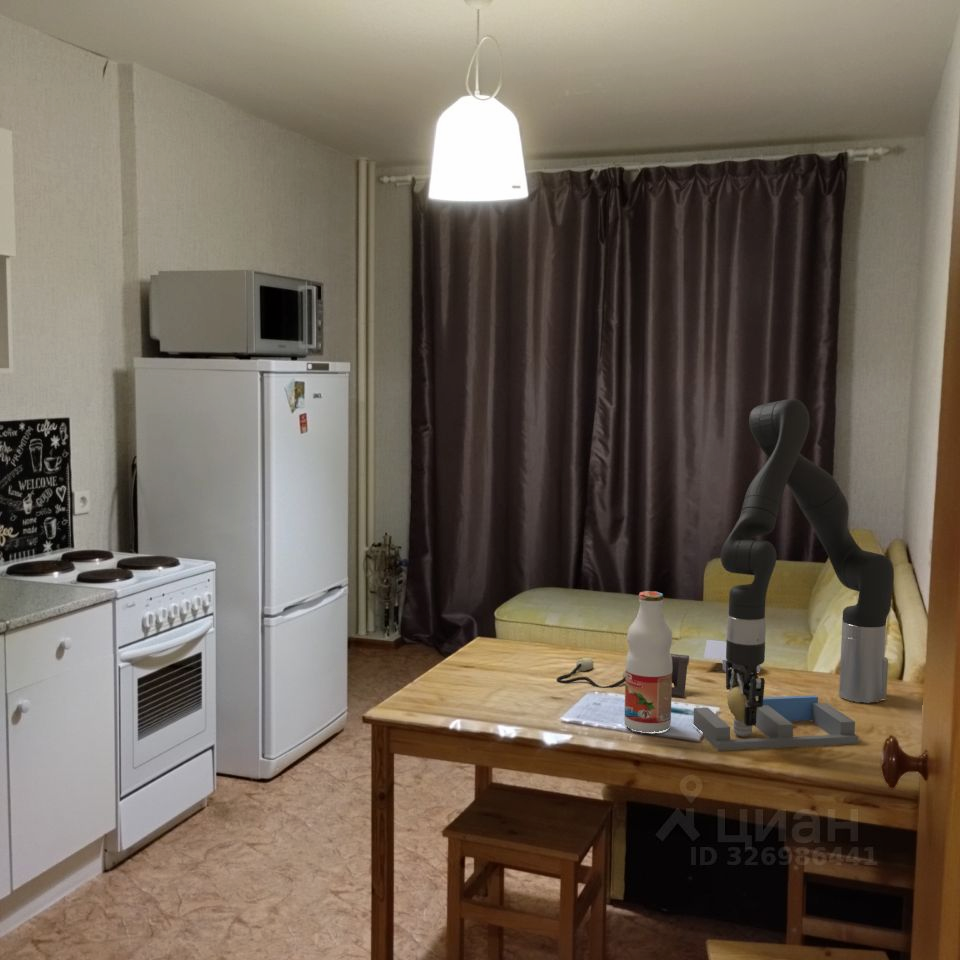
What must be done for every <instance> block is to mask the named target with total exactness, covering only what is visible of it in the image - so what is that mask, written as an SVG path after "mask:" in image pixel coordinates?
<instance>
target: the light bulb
mask: <svg viewBox="0 0 960 960" xmlns="http://www.w3.org/2000/svg"><path fill="white" fill-rule="evenodd" d="M746 691H750V690H746ZM758 697H759V696H758ZM748 699H749V696H748ZM727 707H728V708H729V710H730V713H731V712H732V713H733V714H732V713H731V714H732V715H733V716H734V718H733V725H732V726H733V728H732V730H733V731H732V732H733V733H734V735H737V736H738V737H749V736H751V734H753V726H747V725H745V724H744V715H745V703H744V697H743V696H742V695H741V692H740V687H739V686H736V687H734V688H733V689H732V690H731V691H730V693H728V695H727ZM758 709H759V707H757V711H758Z"/></svg>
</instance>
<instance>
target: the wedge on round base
mask: <svg viewBox="0 0 960 960" xmlns="http://www.w3.org/2000/svg"><path fill="white" fill-rule="evenodd" d="M702 658H703V659H704V658H705V659H711V660H712V659H713V660H722V669H721V670H722V671H723V670H724V671H723V672H725V671H726V661H727V659H726V641H722V640H715V639H714V640H712V639H711V640H710V639H707V640H706V644H705V649H704V654H703V657H702ZM759 670H760V671H759ZM757 672H760V673H761V664H760V665H758V666H757Z"/></svg>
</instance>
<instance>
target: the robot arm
mask: <svg viewBox="0 0 960 960" xmlns="http://www.w3.org/2000/svg"><path fill="white" fill-rule="evenodd" d="M810 421H811V419H810V413H809V411H808V408H807V406H806V405H805V404H804V402H802V401H801V400H800V399H796V398H790V399H789V398H788V399H783V400H778V401H773V402H767V403H764V404H760V405H757V406H755V407H754V408H752V410H751V411H750V413H749V417H748V424H749V429H750V431H751V434H752V436H753V438H754V440H755V441H756V443H757V445H758V446H759V447H760V449H761V450H762V452H763V453H764V454H765V456H766V457H767V458H768V460H767V461H766V462H765V464H764V465H763V466H762V468H761V469H760V470H759V471H758V473H757V474H756V475H755V477H754V478H753V479H752V480H751V482H750V484H749V486H748V487H747V491H746V493H745V495H744V501H743V503H742V507H741V511H740V515H739V518H738V520H737V521H736V523H735V525H734V527H733V528H732V530H731V532H730V533H729V535H728V537H727V538H726V539H725V542H723V543H724V544H723V546H722V549H721V552H720V562H721V565H722V567H723V569H724V570H726V572H729V573H732V574H737V575H738V574H739V575H748V576H754V577H753V581H752V582H751V583H748V584H739V585H734V586H732V587H731V588H730V590H729V594H728V617H727V622H726V623H727V624H726V641H725V642H726V659H727V661H726V672H725V688H726V690H729V693H730V691H731V690H732V689H733V688H734V687H736V686H739V687H740V692H741V695H742V696H743V697H744V703H745V715H744V724H745V725H747V726H752V727H753V726H755V725H756V715H757V707H762V706H763V698H764V695H765V694H764V693H765V684H766V680H765V678H764V677H759V674H757V666H758V665H760V666H761V665H762V664H764V662H765V658H766V657H765V656H766V654H765V653H766V630H767V629H766V620H765V619H766V599H767V593H768V588H769V585H770V581H771V578H772V574H773V572H774V568H775V566H776V563H777V557H778V556H777V555H778V554H777V551H776V548H775V546H774V545H773V544H772V543H771V542H770V541H767V540H762V539H753V538H755V537H760V536H765V535H768V534H771V533H772V532H773V531H774V530H775V526H776V523H777V519H778V514H779V511H780V505H781V502H782V498H783V494H784V491H785V489H786V486H787V487H788V488H789V491H790V492H791V494H792V495H793V497H794V499H795V501H796V503H797V504H798V507H799V509H800V510H801V511H802V513H803V515H804V517H805V518H806V520H807V521H808V522H809V524H810V526H811V527H812V529H813V531H814V533H815V535H816V536H817V538H818V540H819V541H820V543H821V545H822V547H823V548H824V550H825V552H826V554H827V557H828V559H829V562H830V564H831V565H832V568H833V570H834V573H835V575H836V577H837V579H838V580H839V582H840V583H841V584H842V585H843V586H844V587H845V588H847V589H849V590H852V591H855V592H858V597H857V602H856V604H855V605H849V606H846V607H845V608H843V611H842V623H841V624H842V625H841V638H840V639H841V641H840V642H841V645H840V662H839V681H838V682H839V684H838V696H839V697H842V699H843V698H844V700H846V699H847V700H846V701H850V702H853V701H855V702H854V703H859V702H864V703H863V704H871V703H870V702H877V701H880V700H881V699H886V700H887V689H888V671H889V659H888V658H887V657H885V653H886V651H885V650H886V636H887V635H886V634H887V619H888V616H889V614H890V611H891V608H892V599H893V589H894V582H895V581H894V580H895V579H894V576H895V575H894V574H895V572H894V567H893V566H894V565H893V563H892V561H891V559H890V558H889V557H888V556H886V555H884V554H880V553H877V552H872V551H869V550H868V551H867V550H865V549H864V550H863V548H861V547H860V546H859V545H858V543H857V542H856V540H855V539H854V537H853V535H852V534H851V532H850V530H849V526H848V522H849V510H850V509H849V504H848V501H847V499H846V497H845V495H844V493H843V492H842V489H841V488H840V486H839V485H838V483H837V481H836V480H835V478H834V477H833V476H832V475H831V474H830V473H829V472H828V471H826V470H825V469H824V468H822V467H820V466H819V465H817V464H816V463H814V462H813V461H811V460H809V459H808V458H807V457H805V456H804V455H802V454H801V450H802V448H803V446H804V444H805V441H806V439H807V437H808V433H809V429H810V425H811V424H810ZM746 690H750V691H746ZM729 693H728V694H729ZM748 696H749V699H748ZM758 696H759V697H758ZM865 702H866V703H865ZM880 702H881V701H880ZM877 703H878V702H877ZM730 713H731V714H732V715H733V713H732V712H731V711H730Z"/></svg>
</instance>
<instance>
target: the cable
mask: <svg viewBox="0 0 960 960" xmlns="http://www.w3.org/2000/svg"><path fill="white" fill-rule="evenodd" d="M575 664H576V667H575V668H573V670H572V671H571V672H569V673H567V674H563V675H560V676H559V677H557V678H556V682H558V683H561V684H570V683H573V682H577V681H578V682H579V681H587V682H588V683H589V684H590V685H592V686H594V687H596V688H601V689H611V688H615V687H618V686H620V685H622V684H623V683H624V682H625V680H626V669H625V670H623V672H622V679H621V680H619V681H617V682H616V683H613V684H610V685H607V686H606V685H605V686H601V685H599V684H598V683H596V682H595V681H593V680H592V679H591V678H589V677H587V676H578V677H575V678H570V677H571V676H572V675H574V674H575V673H576V672H577V671H579V672H586V671H589V670H592V669H593V668H594V666H595V663H594V660H593V658H591V657H583V658H578V659H577V661H576V663H575ZM566 678H570V679H566ZM563 679H565V680H563Z"/></svg>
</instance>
